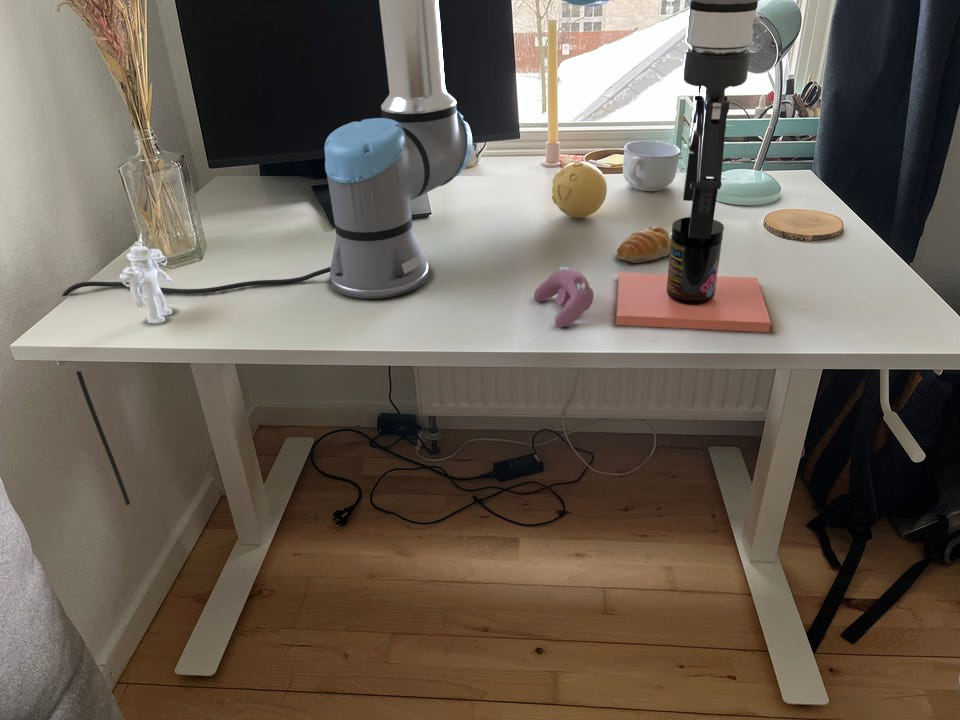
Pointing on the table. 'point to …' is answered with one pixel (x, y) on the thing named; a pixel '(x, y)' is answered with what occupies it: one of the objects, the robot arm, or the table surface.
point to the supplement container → (693, 264)
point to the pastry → (645, 245)
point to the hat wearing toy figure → (147, 281)
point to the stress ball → (579, 189)
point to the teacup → (650, 164)
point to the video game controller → (566, 294)
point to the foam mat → (727, 310)
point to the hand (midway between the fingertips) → (696, 217)
